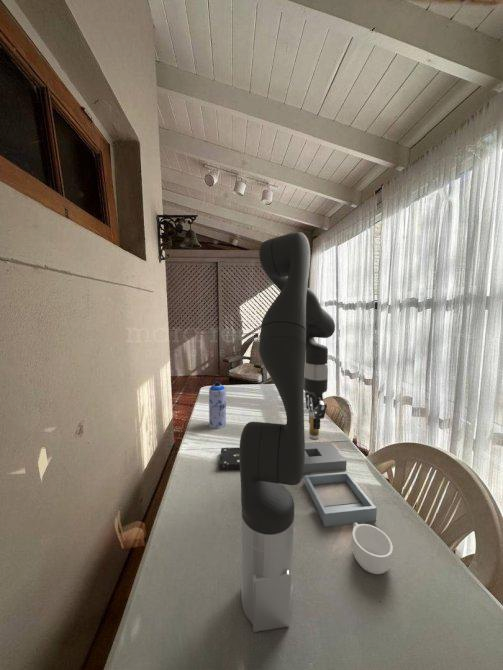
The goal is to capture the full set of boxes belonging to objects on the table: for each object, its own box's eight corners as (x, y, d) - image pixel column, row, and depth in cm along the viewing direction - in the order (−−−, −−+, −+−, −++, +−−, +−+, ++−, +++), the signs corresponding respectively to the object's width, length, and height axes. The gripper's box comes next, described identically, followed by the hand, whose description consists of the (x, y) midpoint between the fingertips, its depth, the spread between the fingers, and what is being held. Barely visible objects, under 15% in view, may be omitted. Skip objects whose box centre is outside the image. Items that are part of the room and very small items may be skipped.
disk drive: (218, 472, 85) (264, 471, 86) (218, 464, 85) (264, 463, 86) (221, 454, 96) (261, 453, 96) (220, 447, 95) (261, 446, 96)
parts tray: (376, 520, 65) (376, 508, 65) (324, 526, 64) (325, 513, 63) (346, 482, 80) (347, 471, 79) (304, 486, 78) (304, 475, 78)
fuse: (320, 439, 87) (321, 413, 86) (311, 440, 86) (311, 414, 86) (316, 435, 90) (317, 410, 89) (307, 435, 90) (308, 410, 89)
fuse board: (346, 472, 85) (346, 460, 84) (292, 476, 82) (292, 465, 82) (329, 452, 97) (330, 441, 96) (282, 455, 94) (282, 445, 94)
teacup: (400, 577, 52) (402, 552, 51) (366, 586, 50) (368, 560, 50) (367, 534, 62) (368, 513, 61) (338, 540, 60) (339, 519, 59)
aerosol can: (219, 430, 113) (218, 385, 111) (205, 426, 117) (204, 382, 115) (229, 423, 120) (229, 381, 118) (216, 419, 124) (216, 378, 122)
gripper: (336, 381, 80) (334, 435, 81) (318, 370, 94) (316, 417, 95) (312, 382, 79) (311, 437, 80) (298, 371, 93) (297, 418, 94)
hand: (314, 426), depth 88 cm, fingers closed on fuse, 3 cm apart
